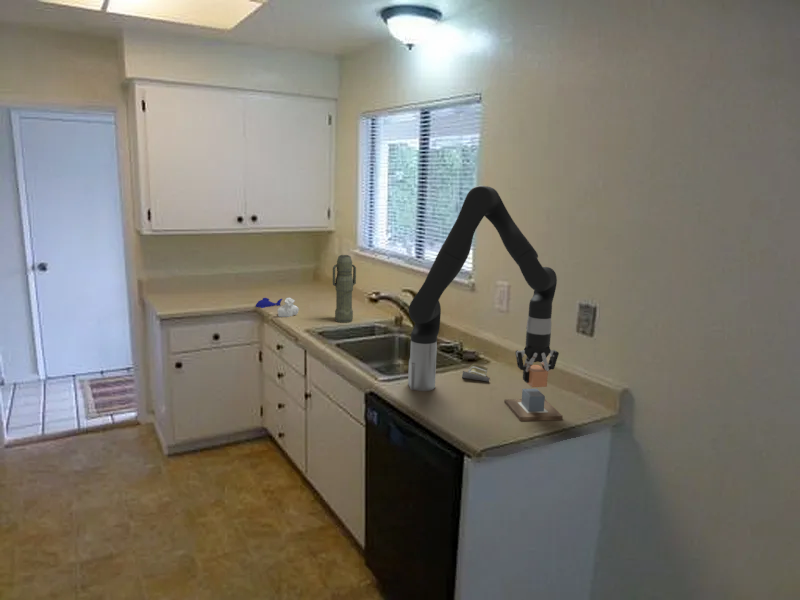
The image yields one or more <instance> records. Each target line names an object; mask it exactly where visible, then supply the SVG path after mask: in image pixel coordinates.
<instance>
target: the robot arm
mask: <svg viewBox="0 0 800 600" xmlns="http://www.w3.org/2000/svg"><path fill="white" fill-rule="evenodd" d="M464 198H465V199H464V201H463V203H462V206H461V208H460V210H459V213H458V216H457V218H456V220H455V222H454V224H453V226H452V228H451V229H450V231H449V233H448V234H447V237H446V238H445V240H444V242H443V244H442V245H441V247H440V250H439V251H438V253H437V255H436V257H435V259H434V262H433V263H432V265H431V268H430V269H429V272H428V273H427V276H426V278H425V280H424V282H423V283H422V285H421V287H420V288H419V290H418V291H417V293H416V294H415V295H414V297H413V299H412V300H411V302H410V304H409V306H408V315H409V317H410V319H411V321H412V322H413V323H414V327H413V329H412V331H411V333H410V349H409V350H410V351H409V353H410V355H409V359H408V374H407V375H408V376H407V377H408V378H407V380H408V381H407V385H408V386H409V389H410V391H418V392H429V391H432V390H434V389H435V388H436V374H437V372H436V371H437V352H438V351H437V350H438V348H437V346H438V344H437V343H438V335H439V333H440V328H441V314H442V310H441V309H442V308H441V303H440V298H441V297H442V294H443V293H444V292H445V290H446V289H447V288H448V286H449V285H451V283H452V282H453V281H454V280H455V279H456V277H457V276H458V274H459V273H460V271H462V268H463V266H464V264H465V263H466V261H467V259H468V257H469V255H470V251H471V248H472V243H473V240H474V235H475V232H476V230H477V228H478V227H479V225H480V223H481V222H482V220H483V218H486V219H487V220H488V221H489V222H490V223H491V224H492V225H493V227H494V228H495V230H496V231H497V233H498V235H499V237H500V239H501V242H502V243H503V245H504V248H505V249H506V251H507V252H508V254H509V256H510V257H511V259H513V261H514V263H515V264H517V266H518V267H519V270H520V273H521V274H522V276H523V279H524V280H525V281H526V284H528V286H529V287H530V288H531V289H532V290H533V296H532V297H531V299H530V300H529V304H528V305H529V306H528V316H527V323H526V332H525V333H526V334H525V347H524V349H522V350H519V349H517V350H515V357H516V358H515V359H516V365H517V367H518V368H519V370H520V371H523V372H522V380H523V382H525V383H526V384H527V383H529V370H530V367H531V366H532V365H534V363H541V365H540V366H541V367H542V368H544V369H545V370H547V371H548V372H550V371H551V370H554V369H555V367H556V364H557V360H558V357H559V354H560V353H559V351H557V350H556V349H551V337H552V311H553V301H554V298H555V293H556V288H557V283H558V279H557V278H558V277H557V274H556V272H555V270H554V269H553V268H551V267H549V266H543V265H542V264H541V263H540V261H539V259H538V258H539V255H538V252H537V251H536V249H535V248H534V247H533V245H532V244H531V242H530V241H529V240H528V238H526V236H525V235H524V234H523V232H522V231H521V230H520V228H519V227H518V225H517V224H516V223H515V221H514V220H513V218H512V216H511V215H510V213H509V211H508V210H507V207H506V206H505V203H504V201H503V200H502V198H501V196H500V194H499V193H498V191H497V190H496V189H495V188H493V187H491V186H489V185H487V186H486V185H476V186H474V187H472V188H471V189H470V190H468V192H467V194H466V195H465V197H464ZM525 355H526V358H525V360H523V358H524V356H525ZM548 356H550V357H549V361H548V360H547V357H548Z"/></svg>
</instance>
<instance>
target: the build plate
mask: <svg viewBox="0 0 800 600" xmlns="http://www.w3.org/2000/svg"><path fill="white" fill-rule="evenodd" d="M521 402H522V398H517V399H516V398H515V399H514V398H513V399H512V398H511V399H510V398H508V399H504V404H505V405H506V406H507V407H508V409H509V410H510V411H511V412H512V413H513V415H514V416H515V417H516V418H517V420H518V421H519V422H522V421H524V422H525V421H526V422H527V421H528V422H529V421H555V420H556V421H557V420H559V421H561V420H563V417H564V416H563V415H562V413H560V412H559V411H558V409H556V408H555V407H554V406H553V405H552V404H551V403H550V402H549V401H548V400H547V399H545V401H544V411H530V412H529V411H528V410H527V409H526V408H525V407H524V406H523V405H522V403H521Z"/></svg>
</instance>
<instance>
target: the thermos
mask: <svg viewBox="0 0 800 600" xmlns="http://www.w3.org/2000/svg"><path fill="white" fill-rule="evenodd" d="M356 284H357V267H356V266H355V264H353V260H352V256H351V255H347V254H340V255H339V256H338V258H337V261H336V264H334V265H333V266H332V286H335V292H336V293H335V295H336V297H335V298H336V299H335V300H336V301H335V302H336V304H335V306H336V307H335V310H334V312H335V313H334V319H335V322H337V323H341V324H349V323H352V322H353V319H354V317H353V316H354V311H353V307H352V306H353V292H354V291H353V290H354V286H355V285H356Z"/></svg>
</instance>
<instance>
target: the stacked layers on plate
mask: <svg viewBox="0 0 800 600" xmlns="http://www.w3.org/2000/svg"><path fill="white" fill-rule="evenodd" d="M488 369H489V368H488V367H486V366H483V365H481V364H477V363H472V364H471V365H470V366H469V367H468V371H464V370H462V375H461V379H462V378H464V379H468V380H469V379H470V380H476V381H482V382H483V381H484V382H488V383H489V381H490V377H487V373H488Z"/></svg>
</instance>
